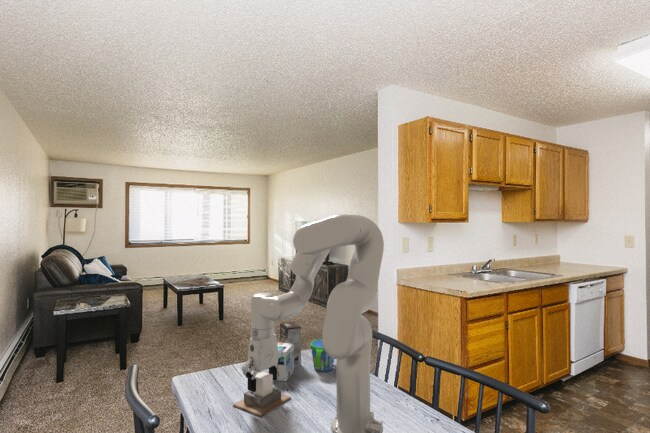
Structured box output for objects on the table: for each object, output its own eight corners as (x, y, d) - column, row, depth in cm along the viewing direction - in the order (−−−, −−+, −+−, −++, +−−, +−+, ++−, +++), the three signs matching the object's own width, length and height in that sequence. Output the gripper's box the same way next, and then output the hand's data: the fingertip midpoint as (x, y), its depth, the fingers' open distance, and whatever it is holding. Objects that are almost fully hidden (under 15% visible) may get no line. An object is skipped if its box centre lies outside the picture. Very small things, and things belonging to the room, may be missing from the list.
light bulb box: (286, 381, 133) (286, 352, 133) (268, 380, 134) (268, 350, 135) (294, 370, 143) (294, 342, 144) (278, 369, 145) (278, 341, 145)
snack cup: (328, 378, 136) (328, 350, 136) (303, 374, 140) (303, 347, 140) (342, 363, 150) (342, 338, 151) (318, 360, 154) (318, 336, 154)
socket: (290, 398, 120) (290, 388, 120) (261, 417, 108) (261, 405, 108) (264, 389, 126) (264, 379, 127) (233, 406, 115) (233, 395, 115)
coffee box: (279, 360, 154) (279, 322, 154) (293, 358, 156) (293, 320, 157) (286, 368, 145) (286, 328, 146) (301, 365, 148) (301, 326, 148)
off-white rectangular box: (272, 399, 118) (272, 374, 118) (263, 405, 114) (263, 379, 115) (262, 395, 120) (262, 371, 121) (253, 401, 117) (253, 376, 117)
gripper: (251, 340, 109) (251, 398, 108) (288, 327, 123) (288, 378, 123) (234, 336, 113) (234, 392, 112) (272, 324, 127) (272, 373, 127)
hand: (262, 385), depth 117 cm, fingers open, 9 cm apart
